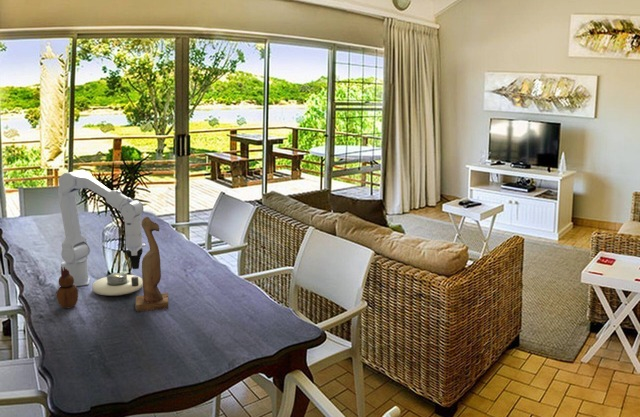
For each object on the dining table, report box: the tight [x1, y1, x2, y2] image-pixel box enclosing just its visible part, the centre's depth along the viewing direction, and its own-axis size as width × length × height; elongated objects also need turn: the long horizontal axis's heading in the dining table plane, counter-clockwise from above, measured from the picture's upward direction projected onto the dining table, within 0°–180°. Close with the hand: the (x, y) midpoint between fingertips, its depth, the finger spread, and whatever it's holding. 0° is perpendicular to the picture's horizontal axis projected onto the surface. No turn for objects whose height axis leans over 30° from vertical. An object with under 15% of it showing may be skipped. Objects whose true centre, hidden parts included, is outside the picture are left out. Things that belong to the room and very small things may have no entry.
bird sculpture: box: [134, 216, 169, 313], centre depth 200 cm, size 11×12×32 cm
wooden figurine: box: [56, 266, 79, 309], centre depth 199 cm, size 7×6×15 cm
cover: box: [106, 272, 128, 286], centre depth 217 cm, size 7×7×3 cm
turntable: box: [92, 274, 143, 296], centre depth 217 cm, size 18×18×5 cm
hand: (135, 268), depth 216 cm, fingers closed
